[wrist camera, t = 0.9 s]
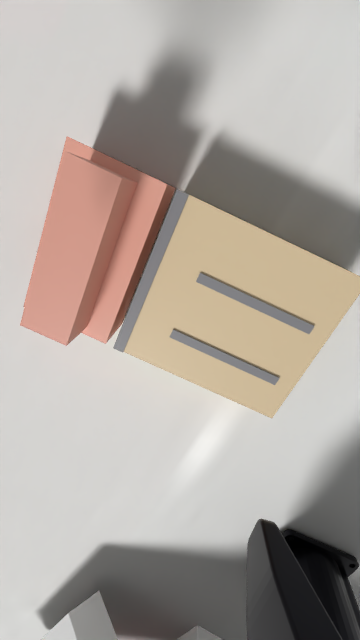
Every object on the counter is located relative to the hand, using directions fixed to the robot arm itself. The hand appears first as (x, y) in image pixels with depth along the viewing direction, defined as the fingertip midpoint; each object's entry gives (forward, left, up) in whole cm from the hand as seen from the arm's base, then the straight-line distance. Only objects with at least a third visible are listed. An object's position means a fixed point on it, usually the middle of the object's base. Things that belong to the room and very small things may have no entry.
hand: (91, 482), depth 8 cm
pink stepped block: (+5, -3, -12) cm, 14 cm away
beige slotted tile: (-3, -3, -12) cm, 13 cm away
